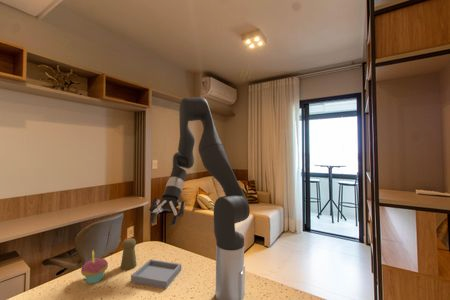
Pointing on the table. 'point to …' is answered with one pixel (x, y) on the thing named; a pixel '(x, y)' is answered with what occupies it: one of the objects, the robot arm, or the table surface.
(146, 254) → the table surface
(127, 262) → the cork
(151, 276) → the gray tray
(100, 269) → the cupcake
